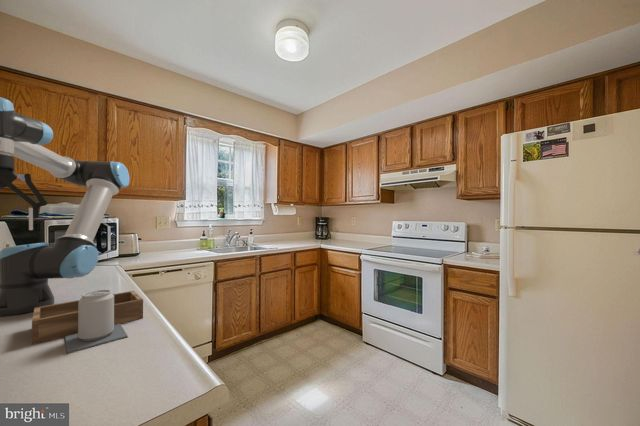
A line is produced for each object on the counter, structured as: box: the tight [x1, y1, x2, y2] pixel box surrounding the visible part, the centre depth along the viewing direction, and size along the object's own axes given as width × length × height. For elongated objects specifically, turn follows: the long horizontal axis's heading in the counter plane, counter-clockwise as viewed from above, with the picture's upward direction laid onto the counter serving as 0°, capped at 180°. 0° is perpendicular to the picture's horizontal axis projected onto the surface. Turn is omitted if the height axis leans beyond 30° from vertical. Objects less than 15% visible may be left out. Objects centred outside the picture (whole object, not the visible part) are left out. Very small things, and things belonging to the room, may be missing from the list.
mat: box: [64, 323, 129, 355], centre depth 72 cm, size 12×12×1 cm
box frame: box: [31, 290, 144, 345], centre depth 82 cm, size 14×24×6 cm, turn 136°
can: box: [78, 289, 114, 341], centre depth 72 cm, size 8×8×12 cm
